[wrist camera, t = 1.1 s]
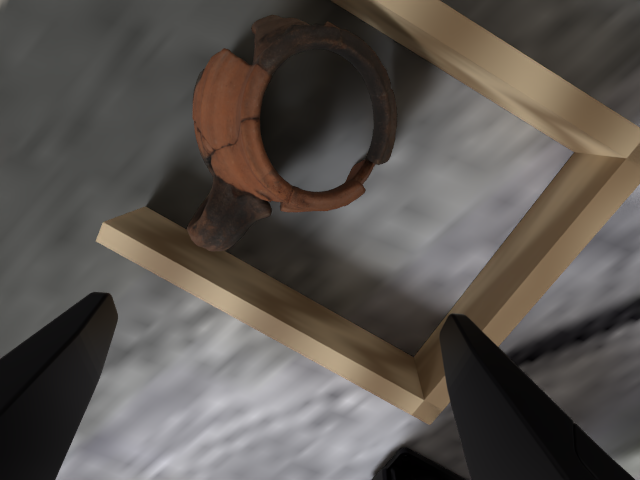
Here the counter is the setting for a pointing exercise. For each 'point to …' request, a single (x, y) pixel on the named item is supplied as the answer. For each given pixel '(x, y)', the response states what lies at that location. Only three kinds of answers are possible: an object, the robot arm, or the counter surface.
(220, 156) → the pottery mug
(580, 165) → the wooden frame
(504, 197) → the counter surface
